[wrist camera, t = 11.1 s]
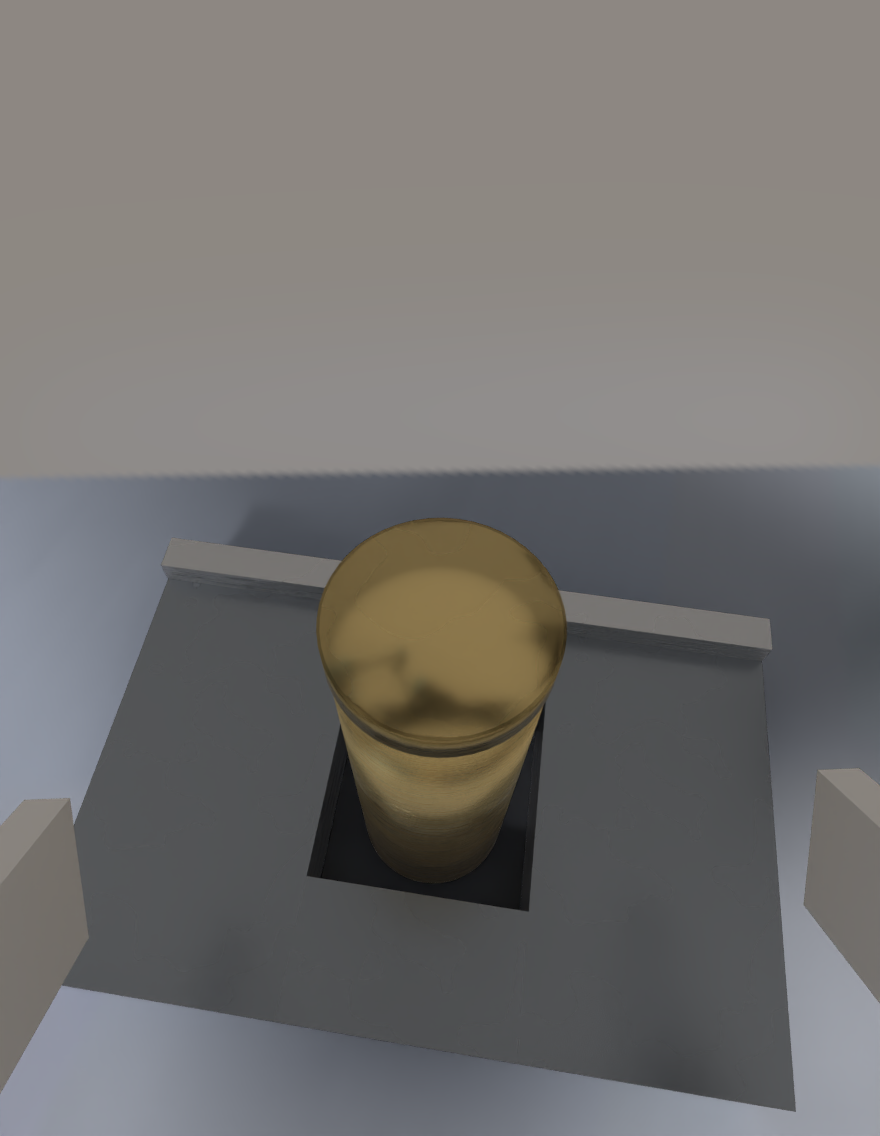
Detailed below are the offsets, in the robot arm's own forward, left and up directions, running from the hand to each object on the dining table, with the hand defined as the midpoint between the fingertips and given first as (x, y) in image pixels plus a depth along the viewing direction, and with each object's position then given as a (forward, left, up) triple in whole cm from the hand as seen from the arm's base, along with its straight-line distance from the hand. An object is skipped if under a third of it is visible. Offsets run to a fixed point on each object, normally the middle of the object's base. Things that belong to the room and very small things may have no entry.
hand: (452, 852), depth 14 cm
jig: (-1, +3, -9) cm, 10 cm away
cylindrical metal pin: (-1, +3, -9) cm, 9 cm away
